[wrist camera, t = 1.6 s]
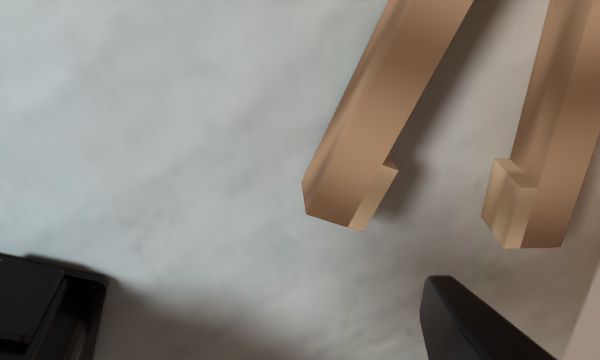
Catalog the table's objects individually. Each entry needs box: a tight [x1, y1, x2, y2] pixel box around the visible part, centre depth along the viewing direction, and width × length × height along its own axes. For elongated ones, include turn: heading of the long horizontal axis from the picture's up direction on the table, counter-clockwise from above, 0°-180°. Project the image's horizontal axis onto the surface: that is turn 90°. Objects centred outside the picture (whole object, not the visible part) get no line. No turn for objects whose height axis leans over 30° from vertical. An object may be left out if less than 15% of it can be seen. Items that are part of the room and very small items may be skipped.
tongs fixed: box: [481, 0, 600, 249], centre depth 17 cm, size 18×5×3 cm, turn 179°
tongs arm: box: [302, 0, 474, 232], centre depth 16 cm, size 17×4×4 cm, turn 157°
